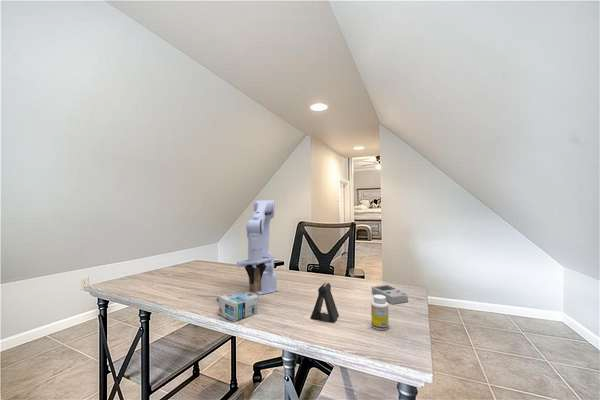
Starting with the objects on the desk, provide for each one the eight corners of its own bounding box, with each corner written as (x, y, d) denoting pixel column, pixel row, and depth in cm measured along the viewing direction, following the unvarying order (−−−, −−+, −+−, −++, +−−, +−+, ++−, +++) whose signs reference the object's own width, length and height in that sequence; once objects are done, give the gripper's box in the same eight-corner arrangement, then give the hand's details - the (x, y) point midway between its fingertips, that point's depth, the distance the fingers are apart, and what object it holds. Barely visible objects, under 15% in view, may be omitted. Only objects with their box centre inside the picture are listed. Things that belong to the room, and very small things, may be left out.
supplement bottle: (375, 321, 93) (375, 292, 93) (391, 326, 89) (390, 295, 90) (368, 327, 89) (368, 296, 89) (384, 332, 85) (384, 300, 85)
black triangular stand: (339, 316, 98) (338, 283, 98) (334, 323, 92) (334, 288, 92) (316, 313, 101) (315, 281, 101) (310, 319, 96) (310, 285, 96)
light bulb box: (258, 296, 101) (234, 303, 93) (258, 313, 101) (233, 322, 93) (242, 290, 108) (218, 296, 100) (241, 306, 108) (217, 314, 100)
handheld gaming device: (391, 305, 109) (391, 296, 109) (371, 294, 123) (371, 286, 123) (409, 303, 112) (409, 294, 112) (387, 292, 126) (387, 284, 126)
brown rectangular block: (255, 290, 110) (253, 268, 112) (261, 290, 105) (259, 267, 107) (249, 291, 108) (248, 269, 110) (255, 291, 103) (253, 268, 105)
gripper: (241, 252, 100) (241, 288, 100) (275, 248, 108) (275, 282, 107) (235, 249, 106) (235, 284, 105) (268, 246, 114) (268, 278, 113)
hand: (255, 283), depth 107 cm, fingers closed on brown rectangular block, 2 cm apart
